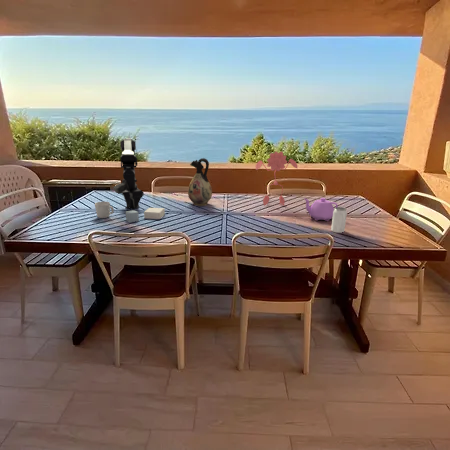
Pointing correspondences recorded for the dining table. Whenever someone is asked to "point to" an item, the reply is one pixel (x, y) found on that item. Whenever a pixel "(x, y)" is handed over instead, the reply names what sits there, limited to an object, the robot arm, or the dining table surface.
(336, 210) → the can
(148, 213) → the plinth
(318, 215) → the teapot
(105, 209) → the cup
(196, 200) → the ceramic jug
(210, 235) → the dining table surface
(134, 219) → the cube
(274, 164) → the pink artificial flower
